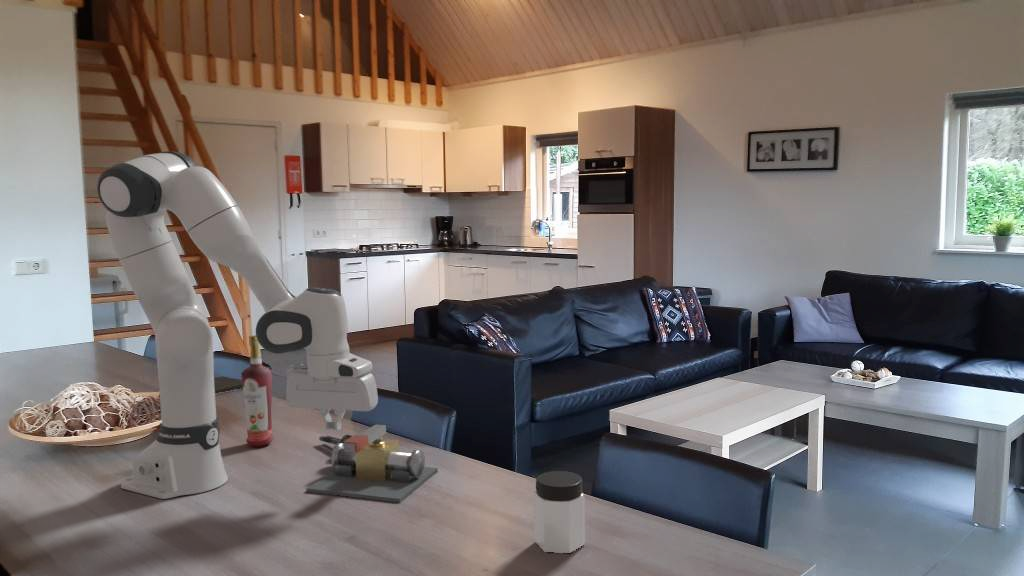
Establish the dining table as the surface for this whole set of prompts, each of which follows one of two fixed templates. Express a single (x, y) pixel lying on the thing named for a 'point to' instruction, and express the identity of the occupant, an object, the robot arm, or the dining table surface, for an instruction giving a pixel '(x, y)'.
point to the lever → (364, 439)
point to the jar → (559, 512)
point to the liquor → (257, 398)
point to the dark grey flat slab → (226, 384)
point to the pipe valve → (378, 462)
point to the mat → (369, 486)
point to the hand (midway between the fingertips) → (333, 428)
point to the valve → (334, 439)
